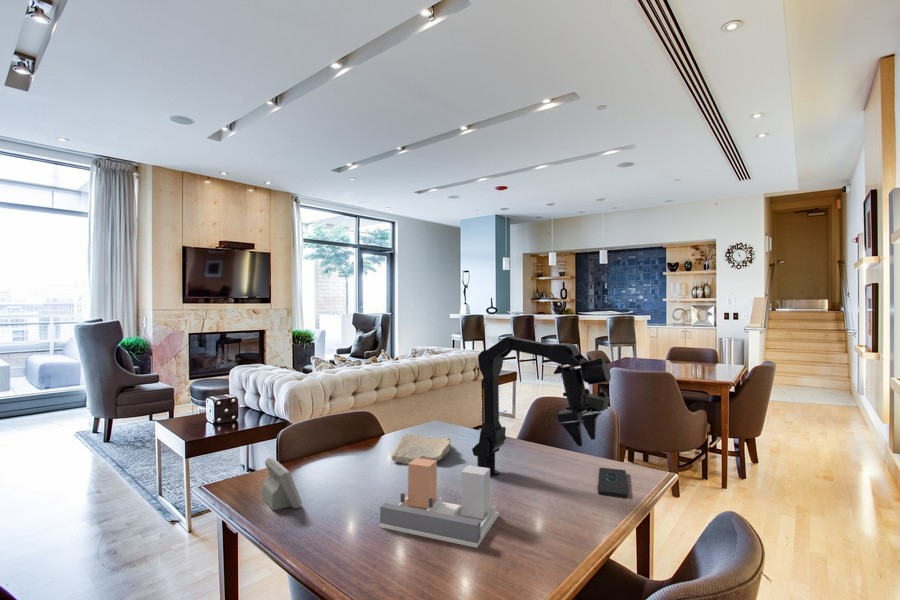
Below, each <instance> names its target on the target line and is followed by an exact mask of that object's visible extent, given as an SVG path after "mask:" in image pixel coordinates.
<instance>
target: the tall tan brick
mask: <svg viewBox="0 0 900 600" xmlns="http://www.w3.org/2000/svg"><path fill="white" fill-rule="evenodd" d="M437 463H438V461H435V460H428V459H421V458H416V459H414V460H413V461H411V462H410V463H409V464H407V466H408V467H407V469H408V470H407V481H408V483H407V485H408V486H407V488H408V489H407V494H408V495H407V497H408V505H409V506H415V507H420V508H425V509H428V508H429V499H430V498H432V499H433V503H434V502H435V501H436V500H437V499H438V498H437V493H438V491H437V490H438V488H437V486H438V485H437V484H438V482H437V481H438V479H437V478H438V477H437V476H438V474H437V473H438V472H437V471H438V470H437V469H438V467H437V466H438V465H437Z"/></svg>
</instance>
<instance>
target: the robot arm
mask: <svg viewBox="0 0 900 600" xmlns="http://www.w3.org/2000/svg"><path fill="white" fill-rule="evenodd" d="M513 351H514V352H515V351H516V352H519V353H524V354H529V355H534V356H539V357H544V358H546V359H547V360H549V361H551V362H553V363H556V364H558V365H557V367H556V369H555V370H554V371H553V374H554V375H558V374H559V375H560V374H561V375H560V376H561V378H562V379H561V380H562V384H563V388H564V392H562V397H566V401H567V407H565V408H566V409H565V410H561V411H559V412H557V414H556V417H555V418H556V421H557V423H558V424H559V423H560V424H559V425H561V426H562V427H563V428H564V429H565V431H566V432H567V433H568V434H569V435H570V437H571V439H573V442H575V444H576V445H577V446H578V447H582V446H583V436H582V429H581V428H582V425H583V427H584V429H585V431H586V432H587V434H588V436H589V438H590V440H596V430H597V420H598V419H599V416H600V415H602V412H604V411H605V410H608V408H609V407H608V406H609V404H610V403H611V400H610V397H609V396H608V393H607V392H606V391H599V393H598V394H596V393H595V394H593V393H591V392H590V389H589V388H586V387H585V383H587V384H588V385H597V384H602V383H603V384H604V383H609V382H610V381H611V378H612V377H611V369H610V367H609V366H608V364H607V363H606V361H605V359H604V357H598V358H596V359H591V360H589V359H587V358H586V357H585V356H584V355H583V354H582V353H580V352H579V351H580V350H579V349H578V347H577V345H575V344H573V343H546V342H540V341H536V340H532V339H526V338H525V339H524V338H519V337H515V336H513V335H510V336H505V337H503V338H502V339H501V340H500V341H499V342H497V343H495V344H494V345H492V346H491V347H489V348H488V349H485V350H482V351H480V353H479V354H478V356H477V361H478V368H479V371H480V373H481V375H482V378H483V425H482V427H481V429H480V431H479V439H478V443H477V444H476V445H474V446H473V447H472V448H471V452H472V454H473V456H475V457H477V458H476V459H477V462H476V463H477V465H476V466H477V467H484V468H490V477H491V476H499V475H500V472H499V471H498V470H497V469H496V453H497V452H500V448H501V447H503V445H504V444H505V440H507V437H506V426H502V424H501V422H500V407H499V406H500V404H499V402H500V400H499V399H500V398H499V391H500V390H499V388H500V387H499V384H500V383H499V379H500V378H499V377H500V374H501V371H502V369H503V363H504V358H506V357H507V356H509V354H510V353H511V352H513ZM576 367H577V368H576ZM578 367H579V368H578Z"/></svg>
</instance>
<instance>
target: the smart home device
mask: <svg viewBox="0 0 900 600" xmlns="http://www.w3.org/2000/svg"><path fill="white" fill-rule="evenodd" d="M627 481H628V480H627V472H626V470H625V469H619V468H617V469H616V468H609V467H608V468H607V467H599V469H598V484H597V494H598V495H599V496H607V497H614V498H622V499H627V498H628V494H629V492H628V491H629V489H628V482H627Z"/></svg>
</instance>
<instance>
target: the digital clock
mask: <svg viewBox="0 0 900 600" xmlns="http://www.w3.org/2000/svg"><path fill="white" fill-rule="evenodd" d="M264 464H265V467H266V469H267V472H268V474H267V475H268V477H267V479H266V481H264V482H263V484H262V501H264V502H265V504H266V505H267V506H268V507H269V508H270V509H271V510H272V511H277V510H281V509H284V508H285V509H286V508H288V507H292V509H295V510H296V509H299V508H300V507H301V505H302V503H303V502H302V499H301V497H300V495H299V491H298V490H297V487H296V484H295V482H294V480H293V477H292V474H291V472H290V471H289V470H288V469H287V468H286V467H284V465H282V464H281V463H280V461H277V459H275V458H274V457H267V458H266V459H265V461H264Z"/></svg>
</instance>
